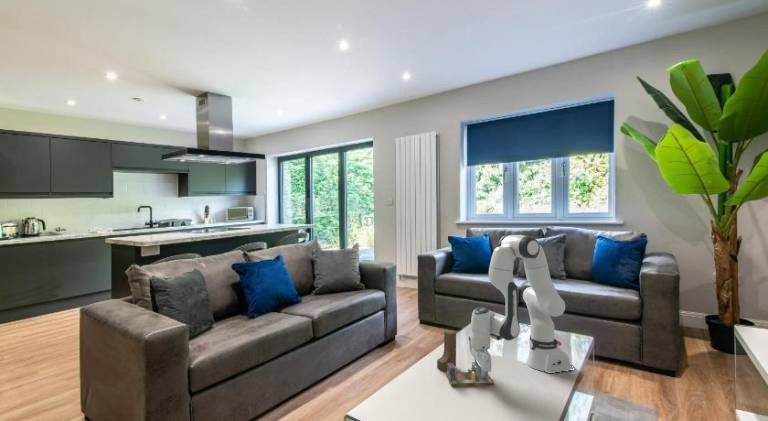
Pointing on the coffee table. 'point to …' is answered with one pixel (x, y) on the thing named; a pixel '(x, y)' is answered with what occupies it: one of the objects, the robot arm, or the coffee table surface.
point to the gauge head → (477, 372)
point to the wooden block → (448, 351)
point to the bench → (464, 378)
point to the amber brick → (473, 376)
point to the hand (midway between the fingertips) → (480, 371)
